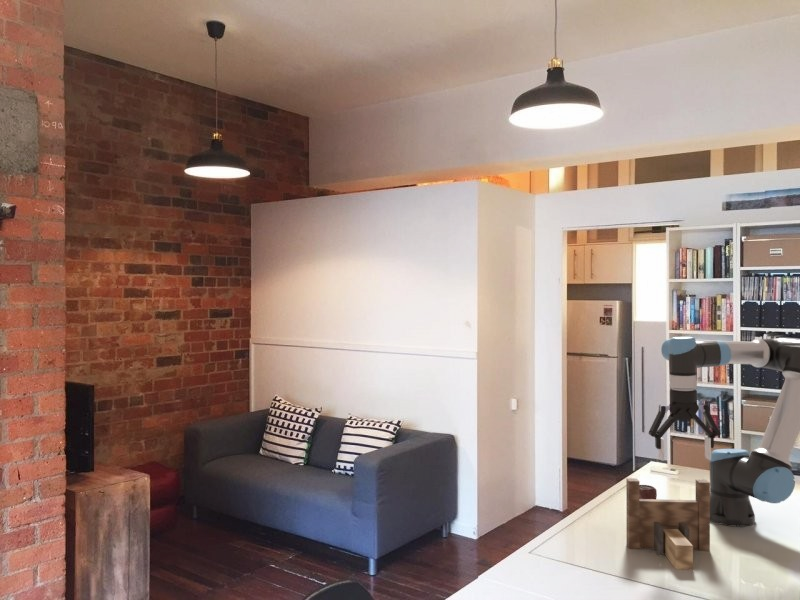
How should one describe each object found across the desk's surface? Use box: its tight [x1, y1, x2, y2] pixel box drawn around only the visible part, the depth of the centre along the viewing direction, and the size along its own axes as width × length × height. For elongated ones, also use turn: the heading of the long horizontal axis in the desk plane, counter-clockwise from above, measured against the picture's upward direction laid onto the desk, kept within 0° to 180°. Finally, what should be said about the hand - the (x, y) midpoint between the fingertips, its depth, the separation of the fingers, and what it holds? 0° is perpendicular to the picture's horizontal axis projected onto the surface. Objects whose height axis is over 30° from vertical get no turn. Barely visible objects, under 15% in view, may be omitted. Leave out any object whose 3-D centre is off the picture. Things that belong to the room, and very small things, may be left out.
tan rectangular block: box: [663, 527, 694, 570], centre depth 189 cm, size 5×13×7 cm, turn 175°
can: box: [639, 484, 658, 499], centre depth 211 cm, size 6×6×14 cm
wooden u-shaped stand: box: [625, 477, 711, 556], centre depth 195 cm, size 23×8×20 cm, turn 85°
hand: (684, 459), depth 200 cm, fingers open, 13 cm apart
